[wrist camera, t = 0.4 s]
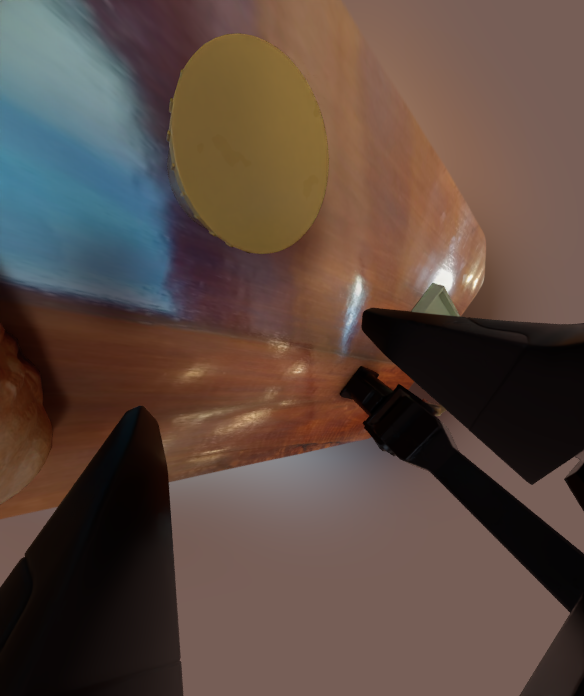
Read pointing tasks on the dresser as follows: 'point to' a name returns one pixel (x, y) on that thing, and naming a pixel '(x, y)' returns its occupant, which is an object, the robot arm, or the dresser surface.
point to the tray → (436, 302)
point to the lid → (248, 144)
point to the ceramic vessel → (20, 419)
